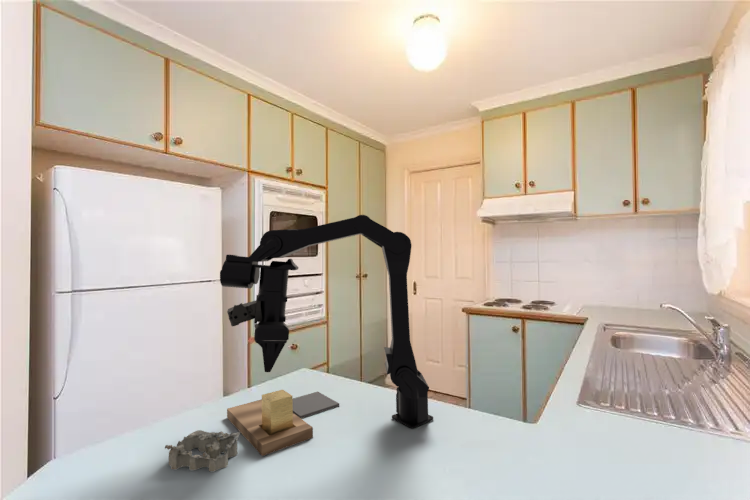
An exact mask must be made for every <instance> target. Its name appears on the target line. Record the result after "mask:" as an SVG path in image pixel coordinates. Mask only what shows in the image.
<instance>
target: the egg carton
mask: <svg viewBox="0 0 750 500" xmlns="http://www.w3.org/2000/svg"><path fill="white" fill-rule="evenodd" d="M240 434H241V432H240V431H237V432H231V433H228V432H225V433H224V432H223V431H220V432H215V431H211V432H207V431H204V430H201V429H200V430H195V431H192V432H191V433H189V434H188V435H187V436H183V439H182V440H178V441H177V443H176V446H175V445H174V446H173V445H172V444H166V445H165V447H164V450H166V449H167V450H169V451H168V466H170V469H171V470H178V469H181V468H183V467H189V471H197V470H199V469H201V468H208V472H216V471H218V470H220V469H226V468H227V467H228V465H229V458H234V457H236V456H237V455H238V440H239V437H240ZM194 449H198V451H199V452H200V453H202V454H194V455H193V451H192V450H194ZM221 453H224V454H221Z"/></svg>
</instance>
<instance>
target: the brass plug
mask: <svg viewBox="0 0 750 500" xmlns="http://www.w3.org/2000/svg"><path fill="white" fill-rule="evenodd" d="M293 398H294V397H293V395H292V394H291V393H289V392H287V391H286V390H285V389H278V390H275V391H271V392H267V393H264V394H261V399H262V429H263V430H264V431H265V432H266V433H267V434H268V435H269V436H270V435H273V434H276V433H279V432H282V431H285V430H288V429H291V428H293Z"/></svg>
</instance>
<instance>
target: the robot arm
mask: <svg viewBox="0 0 750 500" xmlns="http://www.w3.org/2000/svg"><path fill="white" fill-rule="evenodd" d="M359 235H360V236H363V237H364V238H365V239H367V240H369V241H370V242H372V243H373V244H375V245H376V246H378V247H379V248H381V250H382V254H383V259H384V263H385V266H386V267H385V268H386V270H387V275H388V289H389V308H390V326H391V327H390V328H391V341H390V347H388V346H384V347H383V350H384V355H385V362H384V368H385V372H386V375H388V376H389V378H390V380H391V383H392V384H393V385H394V386H395V387H396V394H395V398H396V399H395V407H396V409H395V411H396V413H394V414H392V415H391V419H392V420H395V421H397V422H398V423H400V424H402V425H405V426H407V427H408V428H410V429H415V428H417V427H420V426H421V425H424V424H426V423H429V422H431V421H433V420H434V416H432V415H429V397H428V394H429V390H430V386H429V385H428V383H427V381H426V379H425V377H424V376H423V373H422V372H421V371H419V369H418V366H417V362H416V357H415V355H414V350H413V347H412V343H411V334H410V330H411V329H410V313H409V295H408V294H409V293H408V292H409V291H408V270H409V266H410V262H411V255H412V254H411V253H412V240H411V238H410V237H409V236H408V235H407V234H406V233H403V232H401V231H392V230H391V229H389V228H387V227H385V226H383V225H382V224H380V223H378V222H376V221H375V220H374V219H371V218H370V217H369V216H368V215H366V214H359V215H357V216H355V217H351V218H346V219H342V220H337V221H332V222H329V223H324V224H320V225H315V226H310V227H307V228H297V229H296V228H293V229H289V228H287V229H271V230H267V231H266V232H264V234H263V235H262V237H261V238H260V242H259V245H258V246H257V248H255V250H254V251H253V252H252V253H251V254H250V255H249V256H242V255H241V256H240V255H237V254H226V255H225V260H224V262H223V264H222V266H221V270H220V271H219V281H220V285H221V286H222V287H226V288H236V289H237V288H240V289H250V290H251V289H252V288H253V286H254V285H257V284H258V283H259V285H258V292H257V294H256V299H255V300H253V301H248V302H246V303H243V302H241V303H239V304H234V305H233V306H232V307H230V308H227V311H226V313H227V316H228V320H229V323H230V326H231V327H236V326H239V325H240V324H242V323H246V322H248V321H251V320H252V321H253V320H254V321H253V324H254V326H253V327H254V333H253V335H254V337H253V338H254V339H253V340H254V342H255V344H257V345H258V346H259V347H260V348H261V350H262V359H263V370H264V372H265V373H271V371H272V369H273V368H274V366H275V364H276V362H277V360H278V358H279V356H280V355H281V352H282V351H283V349H284V347H285V345H286V344H287V343H288V341H289V338H290V337H289V336H290V328H289V327H288V325H287V324H286V308H287V307H286V306H287V305H286V304H287V302H288V296H287V294H288V291H287V290H288V281H289V271H297V270H299V266H298V265H297V264H296V263H295V262H294V261H293V259H292V258H288V259H287V260H286V261H280V260H273V259H283V258H285V257H288V256H290V255H293V254H295V253H297V252H299V251H302V250H304V249H306V248H309V247H311V246H316V245H320V244H325V243H328V242H333V241H338V240H341V239H346V238H350V237H355V236H359ZM271 260H272V261H271ZM269 261H271V262H270V264H269V265H268V264H259V263H260V262H262V263H263V262H269Z"/></svg>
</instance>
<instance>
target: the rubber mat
mask: <svg viewBox="0 0 750 500" xmlns="http://www.w3.org/2000/svg"><path fill="white" fill-rule="evenodd" d="M292 398H293V413H294V414H295V415H297V416H298V417H299V418H301V419H304V418H307V417H310V416H313V415H317V414H319V413H322V412H325V411H329V410H332V409H335V408H338V407H340V403H339V402H338V401H335V400H334V399H332V398H330V397H329V396H327V395H325V394H323V393H322V392H320V391H315V392H311V393H308V394H303V395H301V396H298V397H292Z"/></svg>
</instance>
